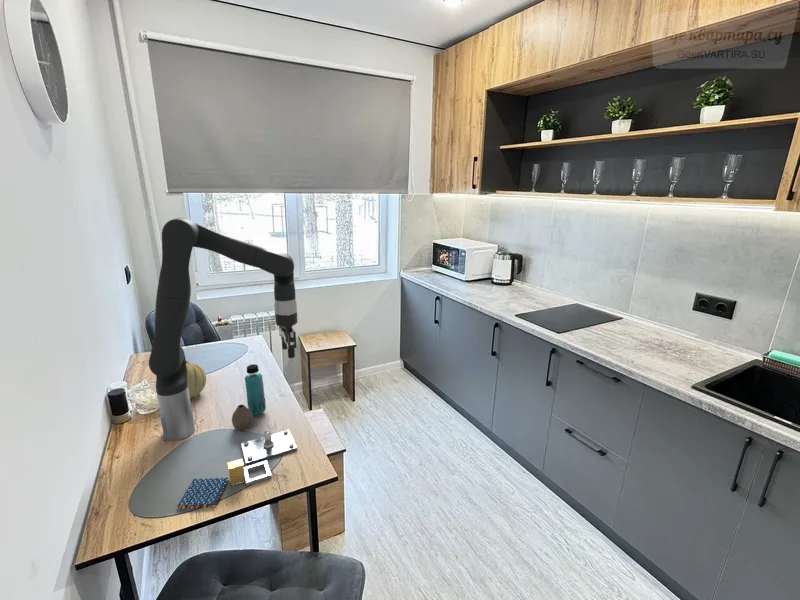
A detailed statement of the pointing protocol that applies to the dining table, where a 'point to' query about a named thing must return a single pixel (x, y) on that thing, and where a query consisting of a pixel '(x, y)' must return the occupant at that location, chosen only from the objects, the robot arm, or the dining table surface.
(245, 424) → the vase
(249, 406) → the beverage bottle
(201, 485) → the woven mat
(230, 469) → the end link
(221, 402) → the dining table surface
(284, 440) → the toggle switch
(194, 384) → the cantaloupe
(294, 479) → the dining table surface
